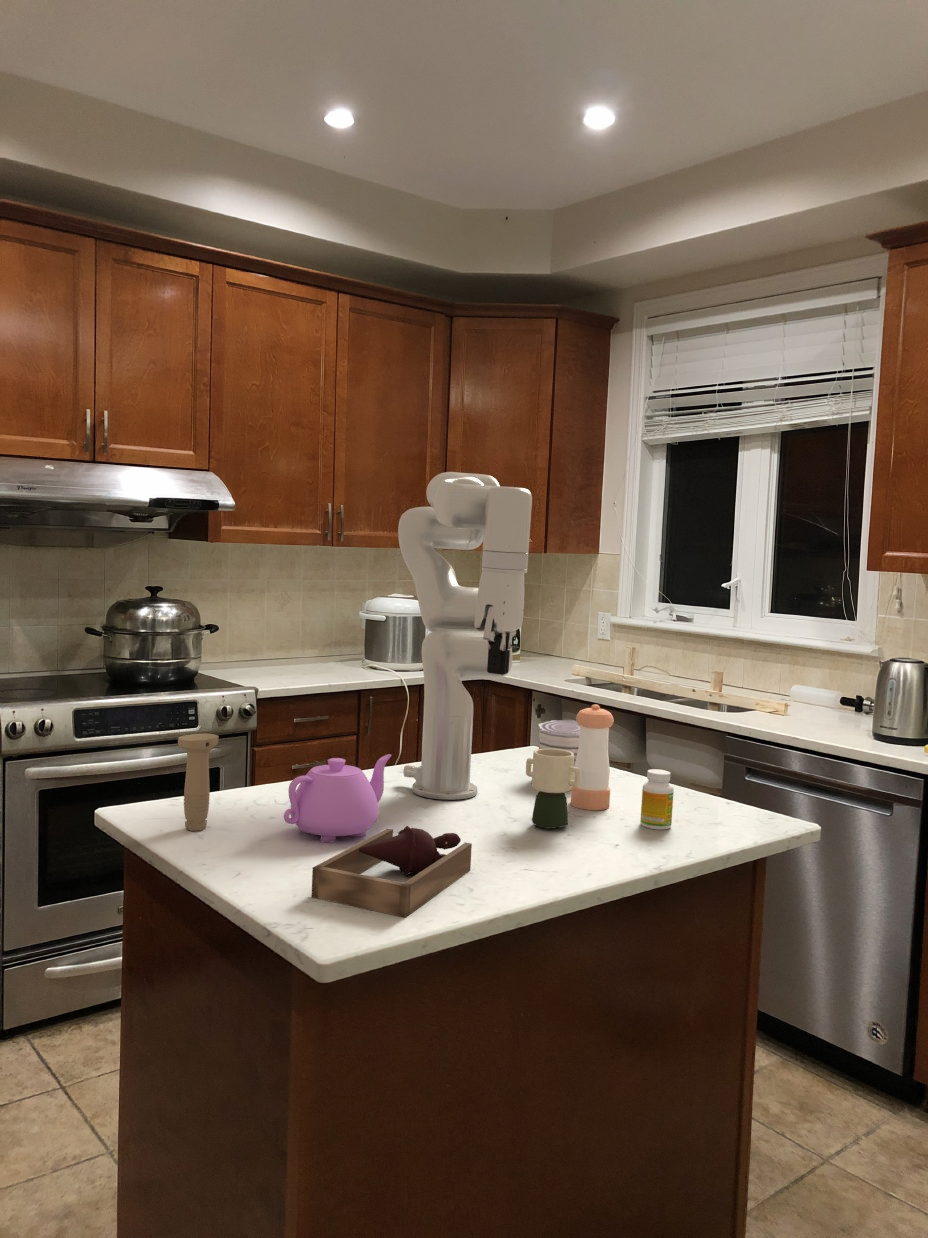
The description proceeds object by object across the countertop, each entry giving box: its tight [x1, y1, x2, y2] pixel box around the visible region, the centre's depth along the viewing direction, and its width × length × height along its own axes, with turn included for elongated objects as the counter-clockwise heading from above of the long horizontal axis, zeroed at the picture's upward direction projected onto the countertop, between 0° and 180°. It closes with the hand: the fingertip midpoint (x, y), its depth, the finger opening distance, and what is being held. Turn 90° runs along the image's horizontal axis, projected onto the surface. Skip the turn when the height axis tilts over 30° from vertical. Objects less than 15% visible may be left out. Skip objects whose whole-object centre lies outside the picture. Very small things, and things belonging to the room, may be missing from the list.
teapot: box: [283, 753, 392, 844], centre depth 156 cm, size 20×14×12 cm
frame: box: [311, 827, 473, 918], centre depth 134 cm, size 14×21×4 cm, turn 157°
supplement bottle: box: [639, 768, 675, 831], centre depth 169 cm, size 5×5×10 cm
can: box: [538, 719, 580, 766], centre depth 198 cm, size 11×11×12 cm
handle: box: [177, 732, 220, 832], centre depth 154 cm, size 5×6×15 cm
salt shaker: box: [570, 703, 615, 811], centre depth 180 cm, size 7×7×19 cm
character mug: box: [525, 748, 581, 829], centre depth 165 cm, size 11×7×13 cm, turn 52°
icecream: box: [359, 825, 461, 877], centre depth 138 cm, size 7×7×15 cm
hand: (497, 673), depth 159 cm, fingers closed
